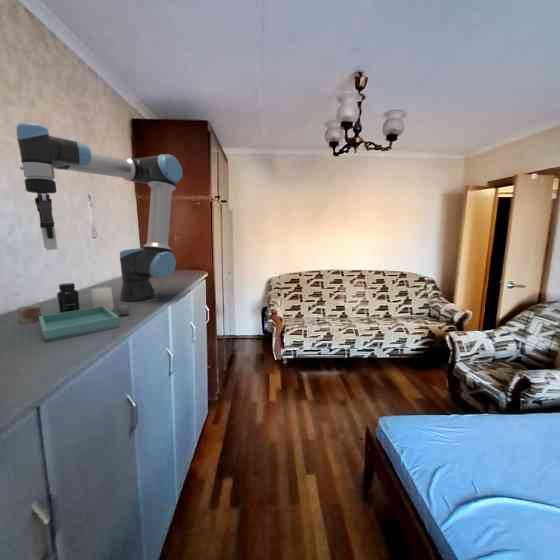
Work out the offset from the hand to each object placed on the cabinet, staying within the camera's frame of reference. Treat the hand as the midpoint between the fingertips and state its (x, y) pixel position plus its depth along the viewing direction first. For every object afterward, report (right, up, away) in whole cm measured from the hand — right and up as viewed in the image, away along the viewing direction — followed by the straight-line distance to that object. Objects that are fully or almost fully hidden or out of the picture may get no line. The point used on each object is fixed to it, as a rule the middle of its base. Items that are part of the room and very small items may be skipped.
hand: (50, 248), depth 97 cm
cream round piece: (+2, -22, +26) cm, 34 cm away
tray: (+5, -26, +6) cm, 27 cm away
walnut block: (-17, -25, +13) cm, 33 cm away
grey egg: (+14, -23, +19) cm, 33 cm away
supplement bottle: (-8, -24, +21) cm, 32 cm away
